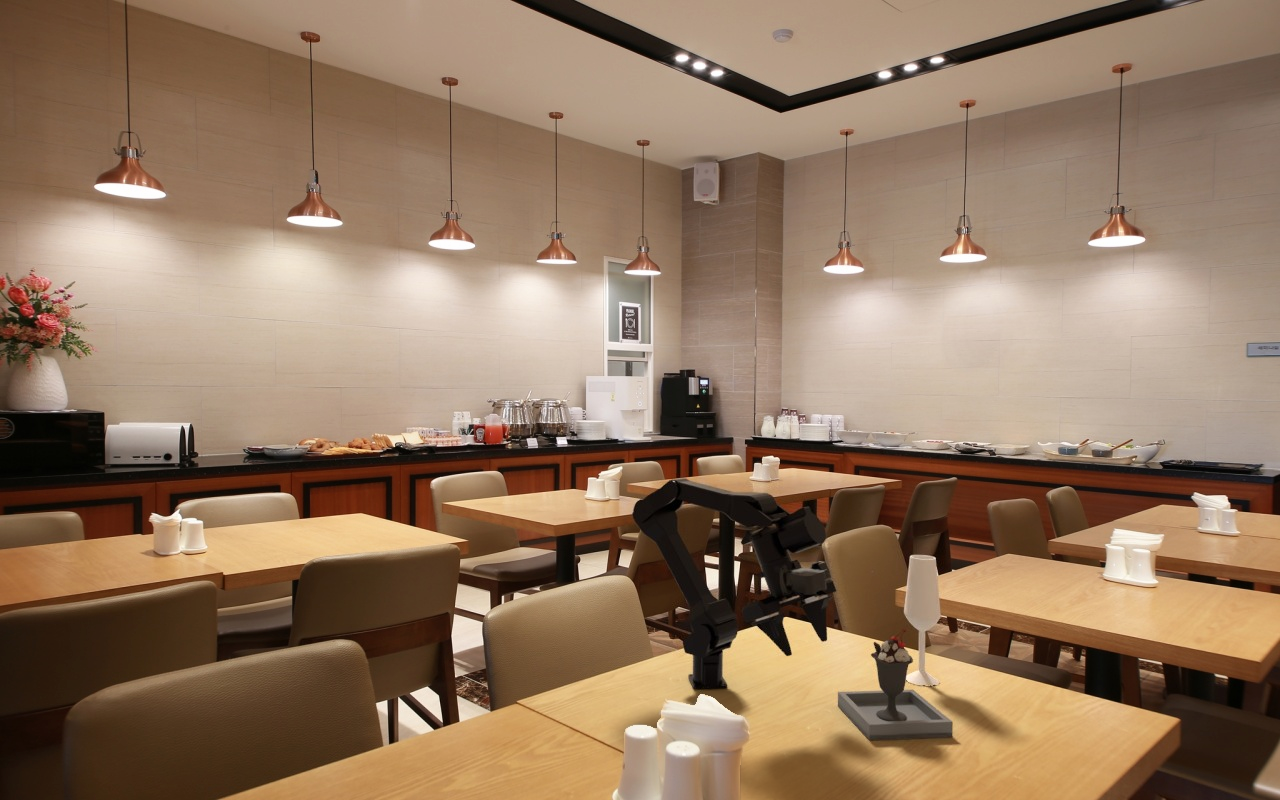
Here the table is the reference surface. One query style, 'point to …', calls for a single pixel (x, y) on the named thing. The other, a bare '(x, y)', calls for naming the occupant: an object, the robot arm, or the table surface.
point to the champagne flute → (922, 608)
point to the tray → (917, 725)
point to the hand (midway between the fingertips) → (807, 648)
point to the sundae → (892, 674)
